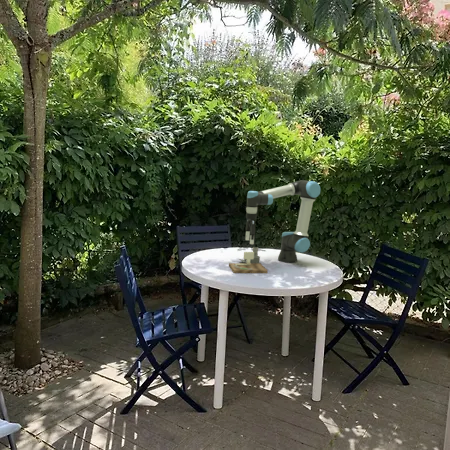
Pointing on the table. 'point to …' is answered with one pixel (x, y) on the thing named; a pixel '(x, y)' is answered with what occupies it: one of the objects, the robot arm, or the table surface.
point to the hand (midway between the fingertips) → (249, 242)
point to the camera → (256, 258)
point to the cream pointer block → (247, 256)
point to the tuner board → (248, 268)
